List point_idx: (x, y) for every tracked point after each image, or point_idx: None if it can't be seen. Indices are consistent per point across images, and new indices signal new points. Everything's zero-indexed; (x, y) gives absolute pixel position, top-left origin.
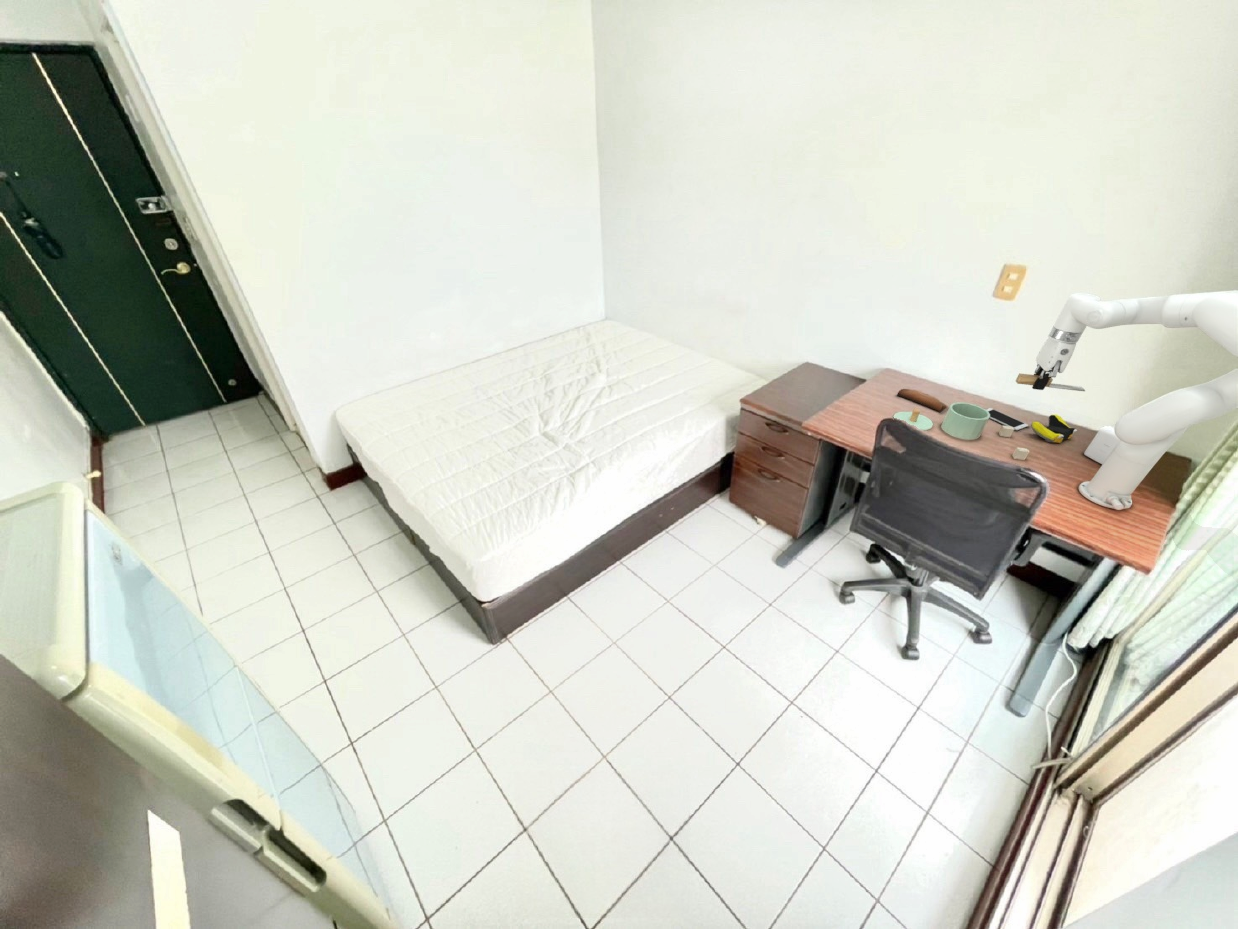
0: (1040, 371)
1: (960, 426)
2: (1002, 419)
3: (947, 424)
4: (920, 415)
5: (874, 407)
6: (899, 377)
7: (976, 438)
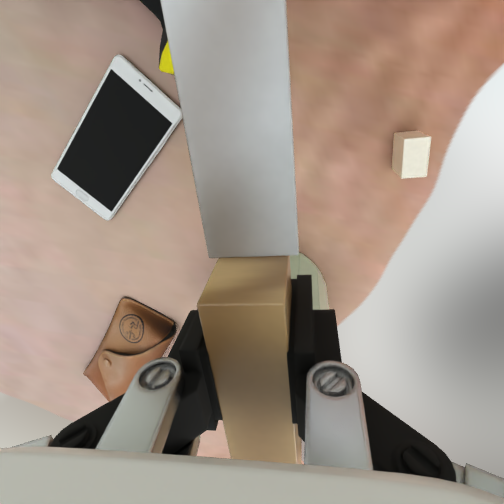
0: (183, 429)
1: None
2: (124, 153)
3: None
4: None
5: (218, 441)
6: (5, 373)
7: (312, 263)
